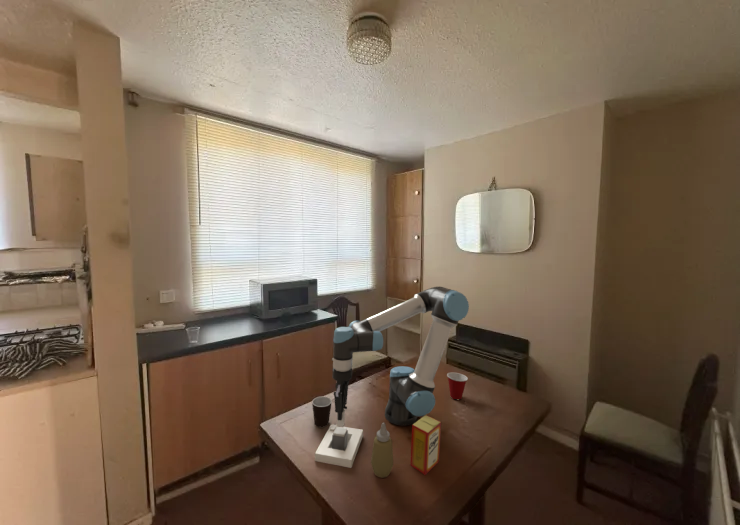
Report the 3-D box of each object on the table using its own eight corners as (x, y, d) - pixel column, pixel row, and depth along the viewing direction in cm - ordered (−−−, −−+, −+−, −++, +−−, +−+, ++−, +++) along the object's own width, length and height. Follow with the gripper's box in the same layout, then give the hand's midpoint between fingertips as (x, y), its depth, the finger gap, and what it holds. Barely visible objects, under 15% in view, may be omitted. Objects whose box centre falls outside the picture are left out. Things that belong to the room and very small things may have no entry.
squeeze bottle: (369, 463, 112) (371, 417, 110) (391, 463, 112) (393, 416, 111) (371, 481, 104) (373, 431, 102) (394, 480, 104) (396, 430, 103)
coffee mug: (327, 430, 130) (328, 408, 130) (308, 427, 132) (309, 405, 131) (335, 415, 142) (336, 394, 141) (318, 412, 143) (318, 392, 143)
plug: (347, 444, 121) (348, 428, 121) (344, 452, 117) (344, 435, 116) (335, 442, 122) (336, 426, 122) (331, 450, 118) (332, 433, 117)
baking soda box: (425, 475, 107) (427, 432, 106) (410, 465, 112) (412, 423, 110) (439, 461, 114) (441, 420, 113) (424, 452, 119) (426, 413, 117)
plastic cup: (470, 397, 162) (471, 376, 161) (460, 405, 154) (461, 382, 153) (452, 390, 169) (453, 369, 168) (441, 396, 162) (442, 375, 161)
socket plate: (362, 436, 127) (362, 427, 127) (351, 467, 109) (351, 458, 109) (330, 431, 130) (331, 422, 129) (314, 460, 112) (315, 451, 112)
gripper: (338, 360, 124) (336, 415, 126) (327, 373, 111) (325, 434, 113) (356, 362, 123) (353, 418, 124) (347, 376, 110) (344, 438, 112)
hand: (340, 425), depth 119 cm, fingers closed
